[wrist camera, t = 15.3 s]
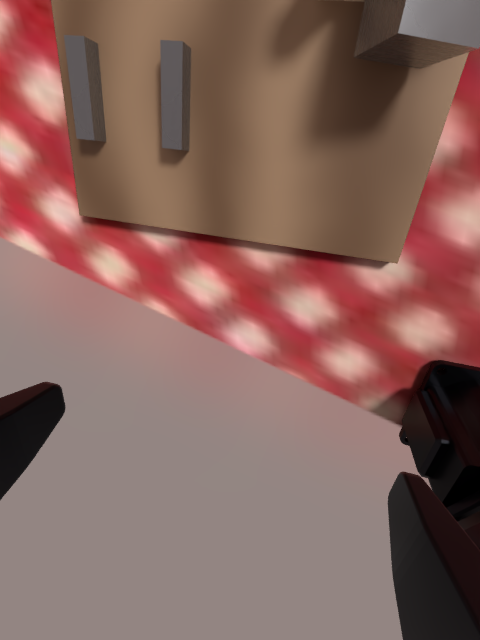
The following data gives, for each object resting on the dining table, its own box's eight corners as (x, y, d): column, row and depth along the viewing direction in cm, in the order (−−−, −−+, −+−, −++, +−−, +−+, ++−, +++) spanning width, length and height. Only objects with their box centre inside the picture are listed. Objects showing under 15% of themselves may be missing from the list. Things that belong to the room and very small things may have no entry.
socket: (191, 48, 14) (182, 41, 13) (189, 150, 16) (181, 150, 15) (79, 42, 15) (63, 34, 14) (89, 139, 17) (76, 138, 16)
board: (601, -369, 9) (627, -418, 8) (394, 259, 17) (397, 263, 16) (27, -291, 11) (8, -321, 11) (88, 213, 19) (79, 215, 19)
